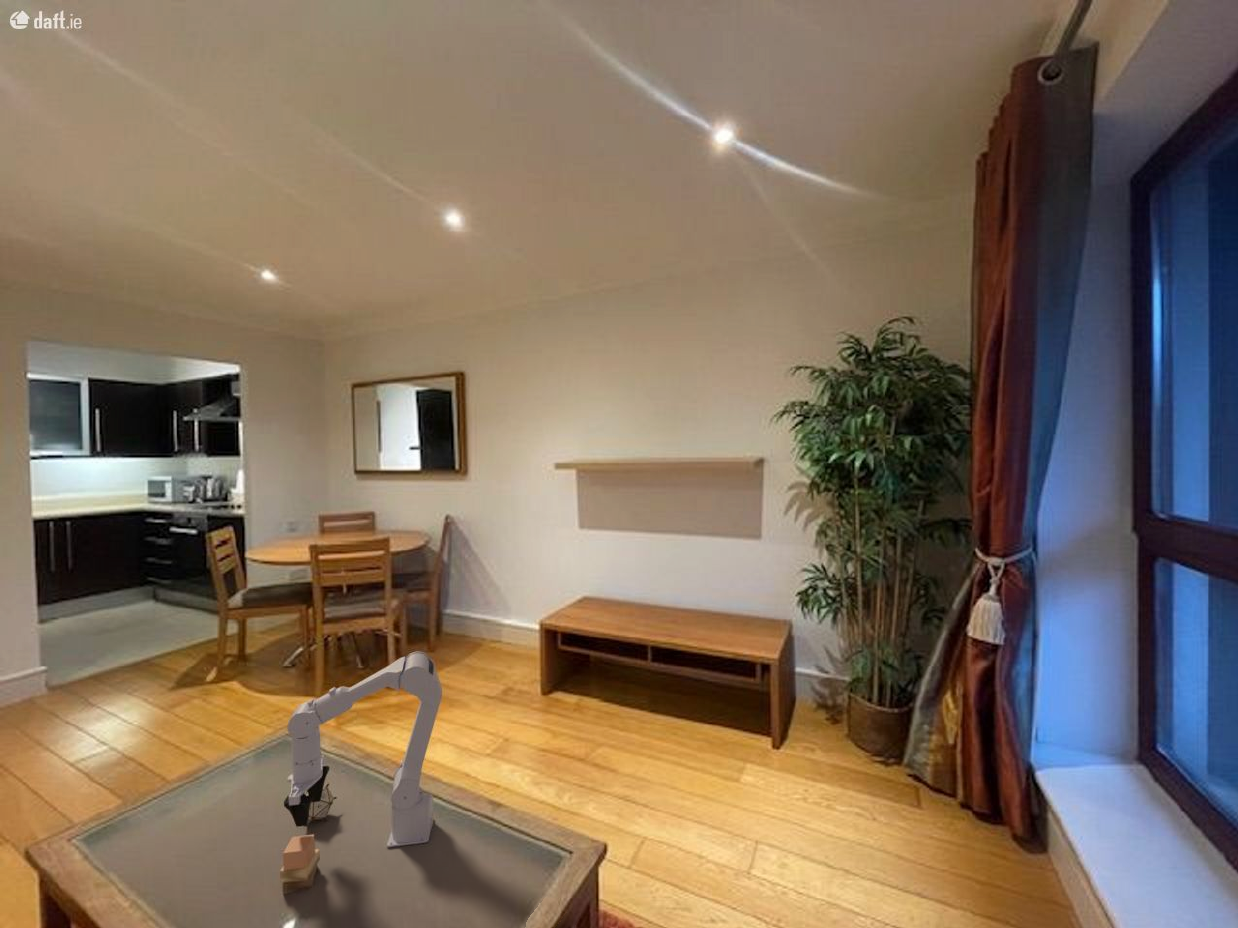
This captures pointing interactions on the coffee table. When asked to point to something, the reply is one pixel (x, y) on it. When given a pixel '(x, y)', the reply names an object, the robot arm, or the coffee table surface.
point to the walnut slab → (299, 884)
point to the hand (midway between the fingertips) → (308, 812)
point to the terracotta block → (299, 852)
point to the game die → (321, 805)
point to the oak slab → (300, 870)
